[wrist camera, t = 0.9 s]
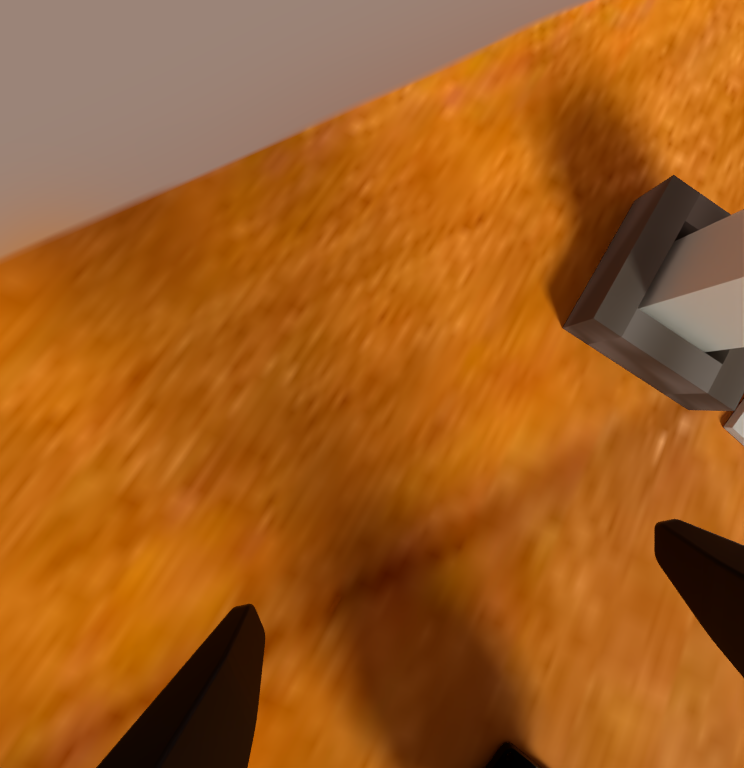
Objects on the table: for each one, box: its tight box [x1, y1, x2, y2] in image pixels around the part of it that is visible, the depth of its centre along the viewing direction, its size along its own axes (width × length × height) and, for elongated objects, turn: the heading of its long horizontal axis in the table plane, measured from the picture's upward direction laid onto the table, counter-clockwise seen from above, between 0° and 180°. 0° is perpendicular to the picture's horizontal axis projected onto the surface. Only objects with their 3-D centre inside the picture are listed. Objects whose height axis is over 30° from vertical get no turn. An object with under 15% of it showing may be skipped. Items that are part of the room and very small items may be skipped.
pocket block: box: [563, 175, 744, 411], centre depth 25 cm, size 10×10×3 cm
